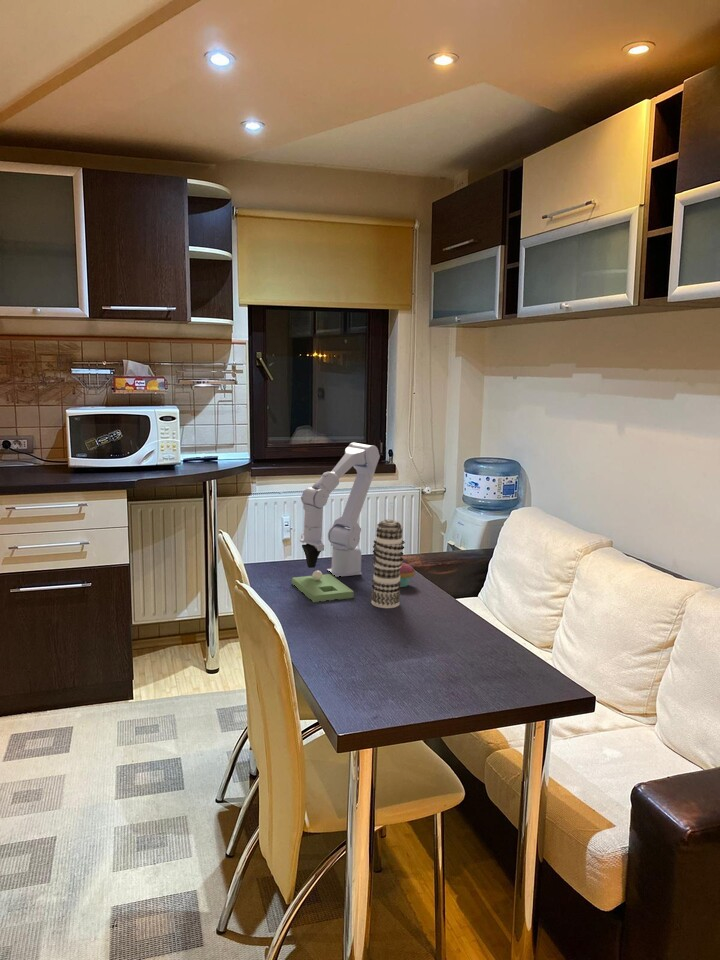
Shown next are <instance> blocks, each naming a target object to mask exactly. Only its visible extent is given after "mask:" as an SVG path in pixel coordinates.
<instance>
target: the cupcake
mask: <svg viewBox="0 0 720 960" xmlns="http://www.w3.org/2000/svg"><path fill="white" fill-rule="evenodd" d="M400 563H401V565H402V567H401V568H400V582H401V584H400V587H401V588H406V587H408V585H409V582H410V580H411V578H412V577H414V576H415V571H416V570H415V569H414V567H413V566H412V565H411V564H409V563H405V562H402V561H400Z"/></svg>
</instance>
